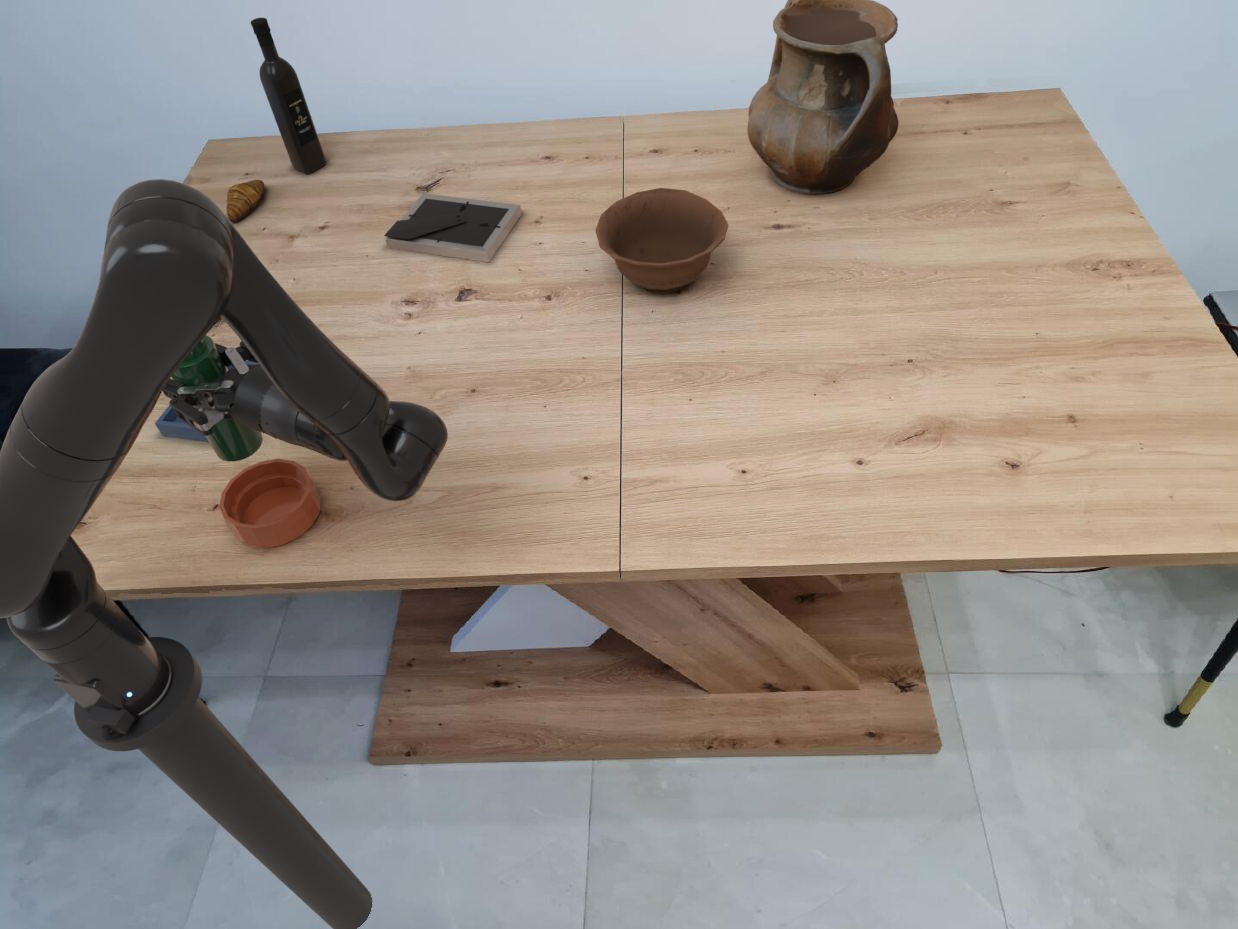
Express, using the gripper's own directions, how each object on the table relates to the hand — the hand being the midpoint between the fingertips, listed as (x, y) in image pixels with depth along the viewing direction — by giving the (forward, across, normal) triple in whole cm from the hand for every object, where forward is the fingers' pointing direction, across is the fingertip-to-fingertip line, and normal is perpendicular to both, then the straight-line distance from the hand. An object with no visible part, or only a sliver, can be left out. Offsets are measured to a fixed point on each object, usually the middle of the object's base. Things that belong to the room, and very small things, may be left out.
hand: (185, 367), depth 108 cm
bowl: (-29, -70, +26) cm, 80 cm away
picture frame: (+14, -68, +26) cm, 74 cm away
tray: (+20, -13, +26) cm, 36 cm away
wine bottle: (+58, -75, +26) cm, 99 cm away
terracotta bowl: (-3, 0, +26) cm, 27 cm away
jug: (-41, -112, +26) cm, 122 cm away
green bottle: (-2, 0, +12) cm, 13 cm away
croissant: (+60, -58, +26) cm, 87 cm away
